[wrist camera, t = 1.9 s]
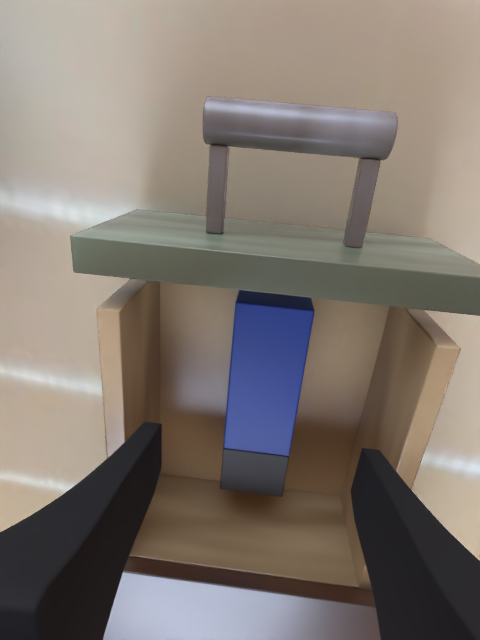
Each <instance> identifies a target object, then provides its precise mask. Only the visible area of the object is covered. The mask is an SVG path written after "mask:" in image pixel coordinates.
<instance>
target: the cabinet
mask: <svg viewBox="0 0 480 640" xmlns="http://www.w3.org/2000/svg"><path fill="white" fill-rule="evenodd" d="M103 640H381V637H380V631H379V624H378V618H377V612H376V606H375V601H374V596H373V591H372V590H365V589H357V588H350V587H343V586H336V585H328V584H321V583H314V582H307V581H299V580H292V579H285V578H278V577H270V576H263V575H256V574H249V573H242V572H234V571H227V570H220V569H213V568H205V567H198V566H191V565H184V564H176V563H169V562H162V561H155V560H147V559H140V558H133V557H128V559H127V562H126V565H125V568H124V571H123V574H122V577H121V580H120V584H119V587H118V590H117V593H116V596H115V600H114V603H113V606H112V610H111V613H110V617H109V620H108V623H107V627H106V630H105V634H104V637H103Z"/></svg>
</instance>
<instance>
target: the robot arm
mask: <svg viewBox="0 0 480 640" xmlns="http://www.w3.org/2000/svg"><path fill="white" fill-rule="evenodd" d="M161 467H162V424H160V423H151V422H144V423H143V424H142V425H141V426H140V427H139V428H138V429H137V430H136V431H135V432H134V433H133V434H132V435H131V436H130V437H129V438H128V439H127V440H126V441H125V442H124V443H123V444H122V445H121V446H120V447H119V448H118V449H117V450H116V451H115V452H114V453H113V454H112V455H111V456H110V457H108V458H107V459H106V460H105V461H104V462H103V463H102V464H101V465H100V466H98V467H97V468H96V469H95V470H94V471H93V472H91V473H90V474H89V475H88V476H87V477H85V478H84V479H83V480H82V481H80V482H79V483H78V484H77V485H75V486H74V487H73V488H71V489H70V490H69V491H67V492H66V493H64V494H63V495H62V496H60V497H59V498H57V499H56V500H54V501H53V502H51V503H50V504H48V505H47V506H45V507H44V508H42V509H41V510H39V511H37V512H36V513H34V514H33V515H31V516H29V517H28V518H26V519H24V520H22V521H20V522H19V523H17V524H15V525H13V526H11V527H10V528H8V529H6V530H4V531H2V532H0V640H103V637H104V634H105V630H106V627H107V623H108V620H109V617H110V613H111V610H112V606H113V603H114V600H115V596H116V593H117V590H118V587H119V584H120V580H121V577H122V574H123V571H124V568H125V565H126V562H127V559H128V557H129V554H130V552H131V549H132V547H133V544H134V542H135V539H136V537H137V535H138V532H139V530H140V527H141V525H142V522H143V520H144V518H145V515H146V513H147V510H148V508H149V505H150V503H151V500H152V498H153V495H154V492H155V489H156V485H157V482H158V478H159V474H160V471H161ZM351 499H352V507H353V514H354V520H355V524H356V529H357V533H358V537H359V540H360V544H361V548H362V552H363V556H364V560H365V564H366V568H367V571H368V575H369V579H370V583H371V587H372V591H373V596H374V601H375V606H376V612H377V618H378V624H379V631H380V637H381V640H480V561H479V560H478V559H477V558H476V557H475V556H474V555H473V554H471V553H470V552H469V551H468V550H467V549H466V548H465V547H464V546H463V545H462V544H461V543H460V542H459V541H458V540H457V539H456V538H455V537H454V536H453V535H451V534H450V533H449V531H448V530H447V529H446V528H445V527H444V526H443V525H442V524H441V523H440V522H439V521H438V520H437V519H436V518H435V517H434V516H433V515H432V513H431V512H430V511H429V510H428V509H427V508H426V507H425V506H424V505H423V503H422V502H421V501H420V500H419V499H418V498H417V496H416V495H415V494H414V493H413V492H412V490H411V489H410V488H409V487H408V486H407V484H406V483H405V482H404V481H403V479H402V478H401V477H400V475H399V474H398V473H397V472H396V470H395V469H394V468H393V467H392V465H391V464H390V463H389V461H388V460H387V459H386V458H385V456H384V455H383V454H382V453H381V451H380V450H375V449H367V448H362V450H361V454H360V458H359V461H358V465H357V469H356V472H355V476H354V480H353V483H352V487H351Z"/></svg>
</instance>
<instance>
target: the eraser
mask: <svg viewBox="0 0 480 640" xmlns="http://www.w3.org/2000/svg"><path fill="white" fill-rule="evenodd" d="M314 312H315V311H314V307H313V303H312V299H311V298H309V297H300V296H291V295H281V294H272V293H263V292H253V291H244V290H239V291H238V295H237V299H236V303H235V314H234V325H233V337H232V349H231V361H230V373H229V384H228V396H227V408H226V420H225V432H224V444H223V455H222V467H221V479H220V489H223V490H231V491H239V492H246V493H254V494H262V495H270V496H277V497H282V496H283V490H284V484H285V478H286V473H287V467H288V461H289V454H290V449H291V444H292V438H293V432H294V427H295V421H296V415H297V409H298V404H299V398H300V392H301V387H302V381H303V375H304V369H305V364H306V358H307V352H308V346H309V341H310V335H311V329H312V324H313V318H314Z"/></svg>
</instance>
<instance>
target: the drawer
mask: <svg viewBox="0 0 480 640" xmlns="http://www.w3.org/2000/svg"><path fill="white" fill-rule="evenodd" d="M397 126H398V117H397V114H396V113H395V112H386V111H374V110H363V109H351V108H339V107H327V106H316V105H304V104H292V103H281V102H269V101H257V100H246V99H234V98H222V97H211V96H209V97H207V98H206V100H205V103H204V110H203V138H204V142H205V143H206V144H210V153H209V174H208V195H207V216H198V215H188V214H178V213H168V212H158V211H148V210H138V209H137V210H134V211H132V212H129V213H127V214H124V215H121V216H119V217H116V218H114V219H111V220H109V221H106V222H104V223H101V224H98V225H96V226H93V227H91V228H88V229H86V230H83V231H80V232H78V233H75V234H73V235H71V236H70V239H71V250H72V261H73V271H74V272H75V273H85V274H94V275H103V276H113V277H122V278H131V279H130V280H129V281H128V282H127V283H126V284H125V285H123V286H122V287H121V288H120V289H119V290H118V291H116V292H115V293H114V294H113V295H112V296H111V297H109V298H108V299H107V300H106V301H105V302H104V303H102V304H101V305H100V306H99V307H98V308H97V321H98V335H99V349H100V363H101V377H102V391H103V405H104V420H105V434H106V448H107V458H108V457H110V456H111V455H112V454H113V453H114V452H115V451H116V450H117V449H118V448H119V447H120V446H121V445H122V444H123V443H124V442H125V441H126V440H127V439H128V438H129V437H130V436H131V435H132V434H133V433H134V432H135V431H136V430H137V429H138V428H139V427H140V426H141V425H142V424H143V423H144V422H151V423H160V424H162V467H161V471H160V474H159V478H158V482H157V485H156V489H155V492H154V495H153V498H152V500H151V503H150V505H149V508H148V510H147V513H146V515H145V518H144V520H143V522H142V525H141V527H140V530H139V532H138V535H137V537H136V539H135V542H134V544H133V547H132V549H131V552H130V554H129V557H133V558H140V559H147V560H155V561H162V562H169V563H176V564H184V565H191V566H198V567H205V568H213V569H220V570H227V571H234V572H242V573H249V574H256V575H263V576H270V577H278V578H285V579H292V580H299V581H307V582H314V583H321V584H328V585H336V586H343V587H350V588H357V589H365V590H372V587H371V583H370V579H369V575H368V571H367V568H366V564H365V560H364V556H363V552H362V548H361V544H360V540H359V537H358V533H357V529H356V524H355V520H354V514H353V507H352V499H351V487H352V483H353V480H354V476H355V472H356V469H357V465H358V461H359V458H360V454H361V450H362V448H367V449H375V450H380V451H381V453H382V454H383V455H384V456H385V458H386V459H387V460H388V461H389V463H390V464H391V465H392V467H393V468H394V469H395V470H396V472H397V473H398V474H399V475H400V477H401V478H402V479H403V481H404V482H405V483H406V484H407V486H408V487H409V488H410V489H411V488H412V485H413V482H414V480H415V477H416V474H417V471H418V468H419V466H420V463H421V460H422V457H423V454H424V451H425V449H426V446H427V443H428V440H429V437H430V435H431V432H432V429H433V426H434V423H435V420H436V418H437V415H438V412H439V409H440V406H441V404H442V401H443V398H444V395H445V392H446V389H447V387H448V384H449V381H450V378H451V375H452V373H453V370H454V367H455V364H456V361H457V358H458V356H459V353H460V347H459V346H458V345H457V344H456V343H455V342H454V341H453V340H452V339H451V338H450V337H449V336H448V335H447V334H446V333H445V332H444V331H443V330H442V329H441V328H440V327H439V326H438V325H437V323H436V322H435V321H434V320H433V319H432V318H431V317H430V316H429V315H428V314H427V313H426V312H425V311H424V310H431V311H440V312H450V313H459V314H468V315H478V316H480V264H478V263H476V262H474V261H472V260H470V259H468V258H466V257H465V256H463V255H461V254H459V253H457V252H455V251H453V250H451V249H449V248H448V247H446V246H444V245H442V244H440V243H438V242H436V241H434V240H432V239H431V238H420V237H410V236H400V235H390V234H380V233H370V232H366V228H367V223H368V218H369V214H370V209H371V204H372V199H373V195H374V190H375V185H376V181H377V176H378V171H379V167H380V160H385V159H387V158H388V156H389V154H390V152H391V150H392V148H393V145H394V142H395V138H396V133H397ZM228 146H232V147H243V148H254V149H265V150H276V151H287V152H298V153H309V154H320V155H331V156H342V157H353V158H361V159H359V162H358V167H357V173H356V178H355V183H354V188H353V193H352V199H351V204H350V209H349V214H348V219H347V225H346V230H340V229H330V228H319V227H309V226H299V225H289V224H279V223H269V222H259V221H249V220H239V219H229V218H225V205H226V190H227V175H228V160H229V147H228ZM239 290H244V291H253V292H263V293H272V294H281V295H291V296H300V297H309V298H311V299H312V303H313V307H314V311H315V312H314V318H313V324H312V329H311V335H310V341H309V346H308V352H307V358H306V364H305V369H304V375H303V381H302V387H301V392H300V398H299V404H298V409H297V415H296V421H295V427H294V432H293V438H292V444H291V449H290V454H289V461H288V467H287V473H286V478H285V484H284V490H283V496H282V497H277V496H270V495H262V494H254V493H246V492H239V491H231V490H223V489H220V479H221V467H222V455H223V444H224V432H225V420H226V408H227V396H228V384H229V373H230V361H231V349H232V337H233V325H234V314H235V303H236V299H237V295H238V291H239Z"/></svg>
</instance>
